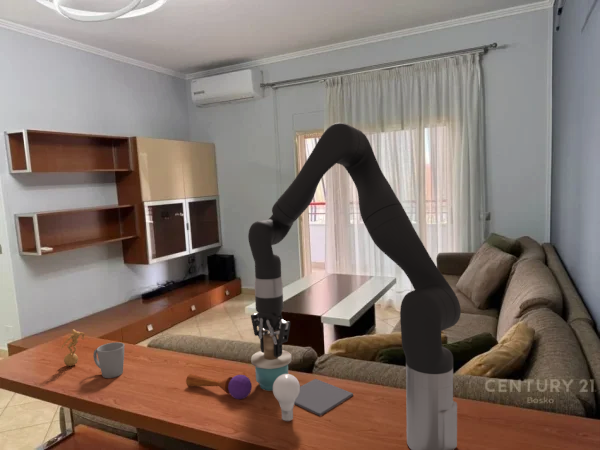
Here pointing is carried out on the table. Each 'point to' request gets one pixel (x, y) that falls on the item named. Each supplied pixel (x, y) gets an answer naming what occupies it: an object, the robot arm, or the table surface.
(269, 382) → the teal rounded dome
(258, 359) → the lid
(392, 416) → the table surface
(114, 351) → the cup
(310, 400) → the mat
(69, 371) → the table surface
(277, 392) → the lightbulb
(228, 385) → the kendama
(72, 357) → the figurine
